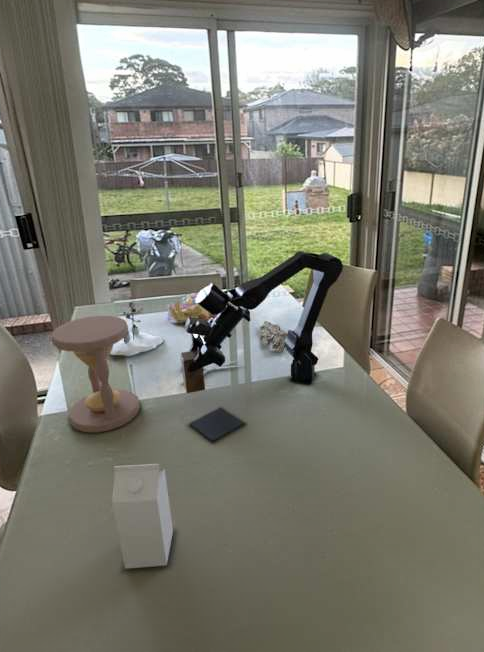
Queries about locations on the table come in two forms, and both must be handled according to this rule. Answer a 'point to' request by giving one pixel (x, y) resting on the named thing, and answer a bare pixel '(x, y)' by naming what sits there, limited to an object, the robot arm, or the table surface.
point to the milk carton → (142, 515)
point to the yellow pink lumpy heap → (188, 310)
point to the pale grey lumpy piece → (278, 339)
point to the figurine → (135, 339)
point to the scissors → (208, 369)
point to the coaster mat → (216, 424)
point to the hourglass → (97, 372)
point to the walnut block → (193, 379)
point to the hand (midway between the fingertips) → (187, 367)
